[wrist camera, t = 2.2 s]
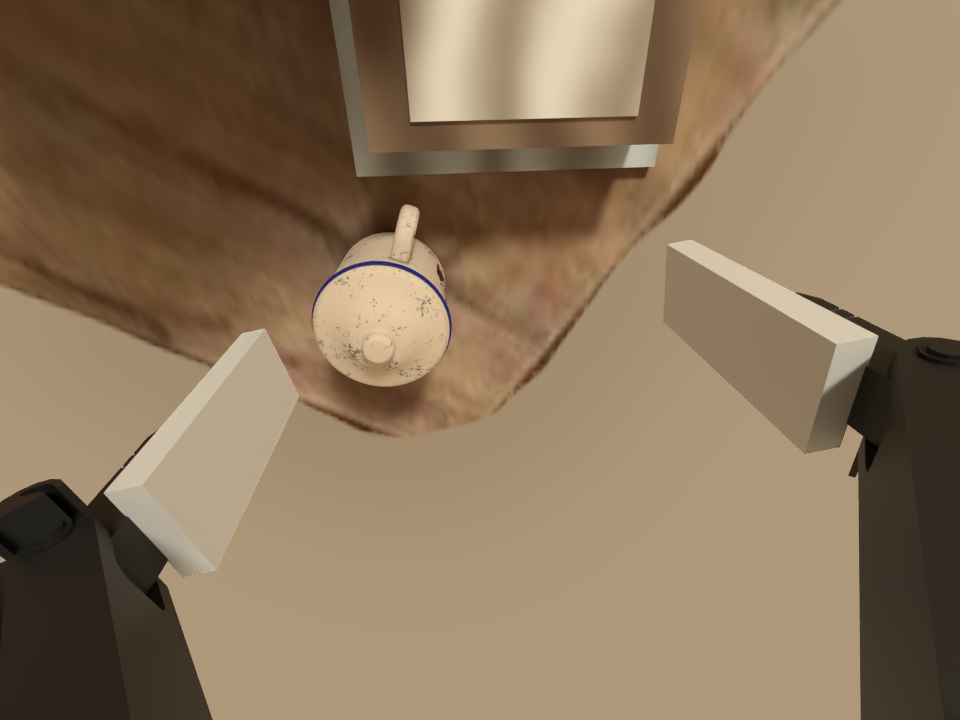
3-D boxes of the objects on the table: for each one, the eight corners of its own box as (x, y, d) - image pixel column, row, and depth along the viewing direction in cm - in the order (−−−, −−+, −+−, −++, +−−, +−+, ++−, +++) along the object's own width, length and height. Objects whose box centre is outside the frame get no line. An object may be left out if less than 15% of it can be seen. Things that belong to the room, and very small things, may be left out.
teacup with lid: (432, 341, 39) (431, 423, 29) (330, 317, 37) (290, 396, 27) (472, 210, 33) (487, 255, 23) (353, 173, 31) (314, 205, 21)
